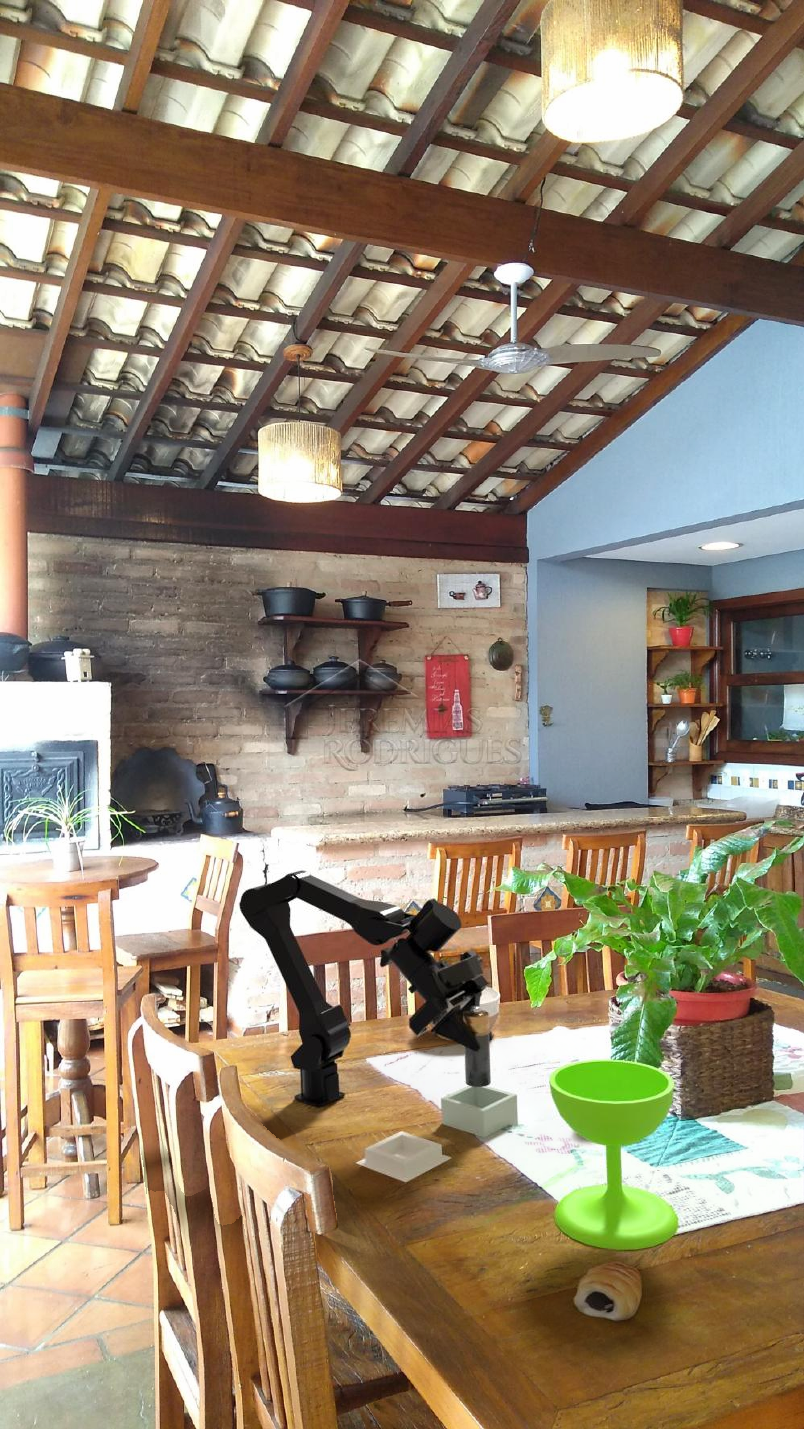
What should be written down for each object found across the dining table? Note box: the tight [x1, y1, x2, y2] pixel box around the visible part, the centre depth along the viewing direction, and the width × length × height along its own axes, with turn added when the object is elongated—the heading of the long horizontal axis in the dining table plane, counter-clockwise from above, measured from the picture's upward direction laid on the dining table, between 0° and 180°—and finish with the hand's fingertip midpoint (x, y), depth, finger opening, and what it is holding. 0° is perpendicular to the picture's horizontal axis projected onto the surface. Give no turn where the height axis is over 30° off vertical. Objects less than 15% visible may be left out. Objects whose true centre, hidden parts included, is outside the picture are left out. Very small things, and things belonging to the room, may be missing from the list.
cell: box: [463, 1006, 492, 1087], centre depth 166 cm, size 4×4×12 cm
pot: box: [440, 1085, 519, 1138], centre depth 166 cm, size 9×9×5 cm
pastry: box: [573, 1260, 643, 1322], centre depth 117 cm, size 9×7×4 cm
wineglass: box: [548, 1059, 680, 1251], centre depth 136 cm, size 16×16×18 cm
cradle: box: [355, 1130, 452, 1183], centre depth 153 cm, size 10×10×3 cm
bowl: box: [429, 986, 501, 1042], centre depth 215 cm, size 16×16×8 cm
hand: (484, 1045), depth 165 cm, fingers closed on cell, 4 cm apart
